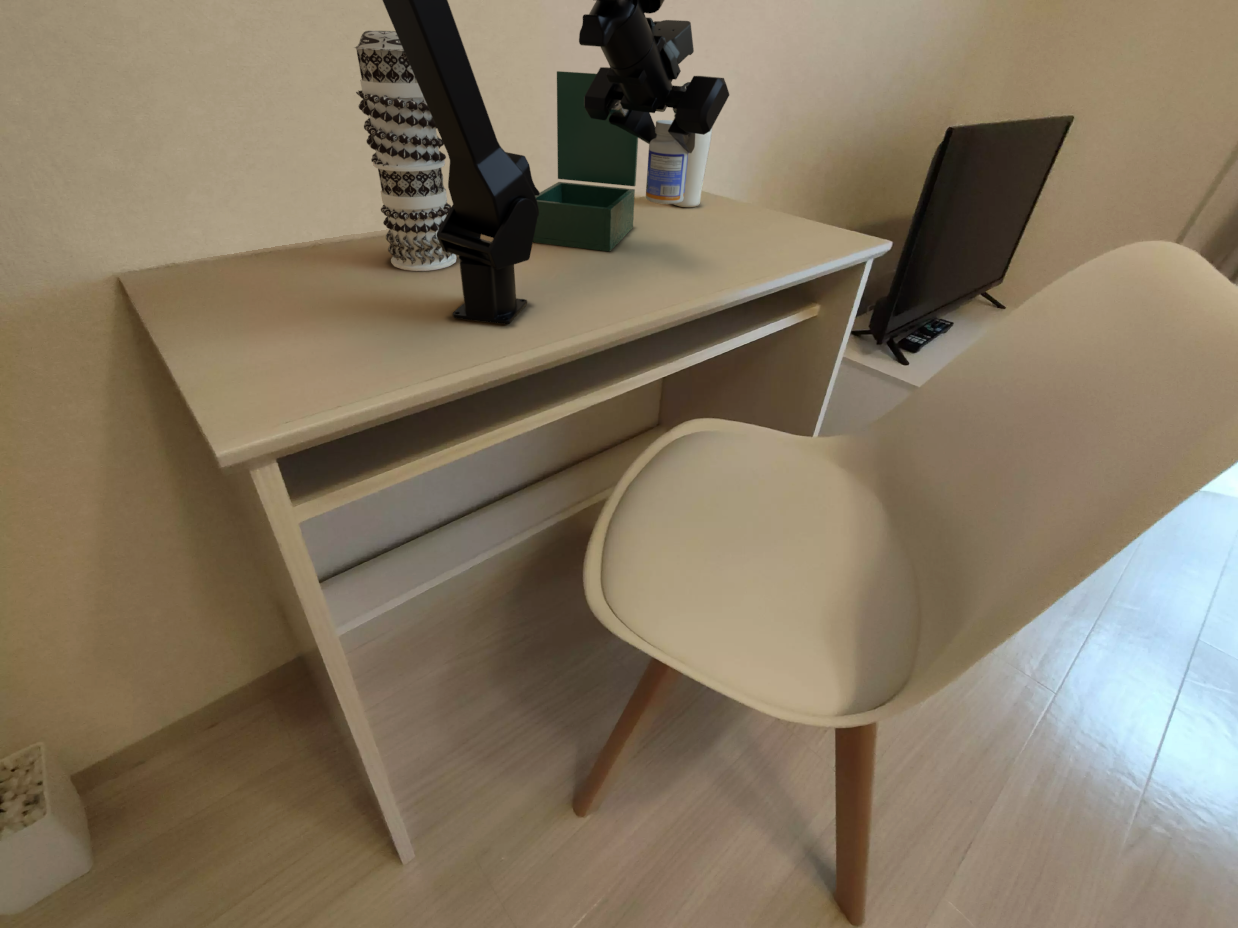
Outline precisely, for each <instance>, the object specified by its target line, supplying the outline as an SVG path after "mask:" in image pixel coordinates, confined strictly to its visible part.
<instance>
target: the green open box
mask: <svg viewBox="0 0 1238 928" xmlns="http://www.w3.org/2000/svg"><path fill="white" fill-rule="evenodd" d="M539 192H540V194H539V195H538V196H535V197H536V199H537V203H538V208H539V216H538V217H537V223H536V228H535V233H534V238H533V243H535V244H543V245H550V246H551V245H553V246H561V247H568V248H569V247H570V248H578V249H585V250H594V251H602V252H611V251H612V250H613V249H614V248H615V247H616V246H617V245H618V244H619V243H620V242H621V241H622V240H623V239H624V238H625V237H626V236H627V234H628V233H630V231H632V230H633V228H634V216H635V215H634V213H635V197H636V196H635V195H636V194H635V193H636V189H635V188H627V187H615V186H605V185H594V184H585V183H575V182H565V181H558V182H556V183H554V184H552V185H551V186H549V187H546V188H545V189H544V190H541V191H539Z"/></svg>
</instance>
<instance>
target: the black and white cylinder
mask: <svg viewBox="0 0 1238 928" xmlns="http://www.w3.org/2000/svg"><path fill="white" fill-rule="evenodd" d="M353 49H356V55H357V62H358V67H359V73H360V77H361V78H360V86H361V87H360V88H361V90H357V91H355V93H356V95H358V97H360V98H361V99H362V100H360V101H359V104H358V106H357V107H358V110H360V111H361V112H362V114H364V115H365V116H367V117H368V118H367V119H366V120H365V121H364V124H363V129H364V131H366V132H367V134H369V135H368V136H367V139H366V144H367V145H368V146H369V148H370V149H372V150H374V151H375V152H374V153H373V154H372V155H371V157H372V158H371V163H372V165H373V166H374V168H376V169H377V171H378V178H379V182H380V187H381V189H380V197H381V201H382V204H383V205H382V206H381V207H380V212H381V213H382V214H383V215H384V216H385V218H384V220H383V222H382V224H383V225H384V226H385V227H386V228H387V229H388V231H387V233H386V234H385V240H386V241H387V243H389V246H388V247H387V251H388V253H389V254H390V255H391V256H392V257H391V259H390V262H391V264H392V266H393V267H394V268H397V269H399V270H400V269H401V270H405V271H412V272H428V271H435V270H442V269H444V268H448V267H451V266H452V265H453V264H456V263H457V258H458V257H457V255H455V254H452V253H447V252H444V251H443V249H442V247H441V245H440V243H439V240H438V238H437V232H438V230H439V228H440V227H441V225H442V223H443V221H444V219H445V218H446V216H447V214H448V212H449V211H450V209H451V207H452V205H451V204H450V203H448V194H447V189H446V188H445V186H444V175H443V172H442V168H444V167H445V165H446V161H445V160H446V159H447V156H446V154H445V153H444V152H442V151H441V150H440V149H441V147H443V146H444V143H443V141H442V139H441V137H440V136H439V135H438V134H437V133H438V132H437V130H438V129H437V127H436V125H435V122H434V120H433V118H432V115H431V113H430V111H429V108H428V106H427V104H426V101H425V99H424V97H423V94H422V92H421V90H420V87H419V85H418V83H417V80H416V78H415V76H414V73H413V71H412V68H411V66H410V64H409V61H408V59H407V57H406V54H405V52H404V50H403V47H402V45H401V43H400V40H399V38H398V36H397V33H396V31H395V30H365V31H364V32H363V33H362V34H361V36H360V38H359V43H358V44H357V46H354V47H353Z"/></svg>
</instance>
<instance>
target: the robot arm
mask: <svg viewBox="0 0 1238 928" xmlns="http://www.w3.org/2000/svg"><path fill="white" fill-rule="evenodd" d="M381 1H382V3H383V5H384V8H385V10H386V11H387V12H386V13H387V14H388V17H389V18H390V21H391V24H392V26H393V28H394V31H396V33H397V36H398V38H399V40H400V43H401V45H402V47H403V50H404V52H405V54H406V57H407V59H408V61H409V64H410V66H411V68H412V71H413V73H414V76H415V78H416V80H417V83H418V85H419V87H420V90H421V92H422V94H423V97H424V99H425V101H426V104H427V106H428V108H429V111H430V113H431V115H432V118H433V120H434V122H435V125H436V127H437V129H436V130H437V131H438V132H437V133H438V134H439V137H440V139H442V141H443V143H444V145H443V146H444V149H445V150H446V153H447V155H448V159H449V167H448V179H447V181H448V182H447V188H448V191H449V194H450V198H451V202H452V205H451V209H450V211H449V212H448V214H447V216H446V218H445V219H444V221H443V223H442V225H441V227H440V228H439V230H438V232H437V238H438V240H439V243H440V245H441V247H442V249H443V251H444V252H447V253H452V254H455V255H456V256H458V263H459V272H460V280H461V287H462V296H463V297H462V298H463V303H462V304H461V305H460V306H458V308H457V309H455V310H453V312H452V318H453V319H457V320H464V321H474V322H482V323H490V324H496V325H497V324H498V325H510V324H511V323H512V322H513V321H514V320H515V319H516V318H517V316H518V315H520V313H521V312H522V311H523V310H524V309H525V308H526V306H528V300H527V299H525V298H517V289H516V275H515V272H516V271H515V265H517V264H521V263H524V262H527V261H529V260H530V258H531V253H532V248H533V243H534V242H533V238H534V233H535V228H536V223H537V217H538V216H539V208H538V203H537V199H536V197H535V196H538V195H539V194H540V192H541V191H540V190H539V189H538V188H537V187H536V185H535V183H534V180H533V176H532V171H531V166H530V163H529V161H528V159H527V157H526V156H525V155H523V154H518V153H512V152H508V151H505V150H504V149H503V147H502V146H501V145H500V143H499V141H498V139H497V136H496V132H495V130H494V126H493V124H492V122H491V119H490V116H489V113H488V110H487V108H486V103H485V102H484V98H483V96H482V93H481V90H480V87H479V84H478V82H477V79H476V77H475V73H474V71H473V68H472V65H471V62H470V59H469V57H468V53H467V51H466V48H465V46H464V45H465V44H464V43H463V40H462V37H461V35H460V31H459V29H458V26H457V23H456V20H455V17H454V14H453V12H452V9H451V6H450V3H449V0H381ZM664 2H665V0H595V2H594V4H593V6H592V8H591V9H590V11H589V13H587V14H586V13H585V14H583V15H582V24H581V28H580V30H579V33H578V43H579V45H580V46H583V47H584V46H585V47H586V46H587V47H597V48H598V47H599V48H600V49H601V51H602V53H603V55H604V57H605V60H606V61H607V63H608V65H609V67H607V66H601V67H599V69H598V70H597V73H595V74H596V76H595V78H594V80H593V82H592V84H591V85H590V87H589V89H588V91H587V93H586V94H585V96H584V107H585V109H586V111H587V113H588V114H589V116H590V118H593V119H599V120H606V119H607V117H608V115H609V113H610V114H611V116H610V118H609V122H610V124H612V125H616V126H618V127H620V128H621V129H623V130H625V131H627V132H629V133H631V134H632V135H634V136H637V137H638V140H641V141H643V142H645V143H646V144H648V145H649V143H650V142H651V140H653V139H655V138H656V137H657V134H656V133H655V132H656V131H655V127H656V124H655V123H654V122H655V121H654V120H653V117H652V116H651V114H655V113H656V112H660V113H664V112H665V111H667V110H666V109H667V108H671V109H672V111H673V114H674V113H676V114H675V115H673V122H672V124H671V126H670V128H669V129H668V132H669V133H670V134H671V136H672V137H673V138H674V139H675V140H676V141H677V142H678V143H679V144H680V145H681V146H682V147H683V148H684V149H685V150H686V151H687V152H688V153H692V151H693V149H694V147H695V133H696V134H702V135H704V134H706V133H708V132H710V130H711V129H712V130H713V127H714V125H715V123H716V122H717V119H718V117H719V116H720V113H721V112H722V110H723V108H724V106H725V105H726V103H727V100H728V99H729V97H730V91H729V89H728V85H727V83H726V80H725V78H724V77H719V76H706V75H693V76H692V78H691V80H690V81H686V82H685V83H683V84H682V85H673V84H672V83H673V80H675V81H676V80H677V79H678V78H679V75H680V74H681V68H680V64H681V63H682V62H683V61H684V60H685V59H686V58H687V57H688V56H692V55H693V54H694V52H695V50H694V41H693V33H692V24H691V21H690V20H676V19H664V20H660V21H659V20H657V21H656V20H653V18H652V17H647V16H646V15H645V14H649V15H650V14H654V13H655V14H656V13H657V12H658V11H659V10H660V9H661V7H662V6H663V4H664ZM674 117H675V118H674ZM482 236H485V237H489V238H491V239H492V240H490V241H489V240H486V239H482V238H481V237H482Z"/></svg>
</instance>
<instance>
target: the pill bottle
mask: <svg viewBox="0 0 1238 928" xmlns="http://www.w3.org/2000/svg"><path fill="white" fill-rule="evenodd" d="M673 120H674V119H673ZM673 120H671V119H660V120H659V119H658V120H656V121H655V131H656V132H655V133H656V134H657V137H656V138H655V139H653V140H651V142H650V143H649V144H648V155H647V172H646V185H645V199H646V200H647V201H649V202H651V203H655V204H660V205H674V204H676V203H680V202H682V201H683V199H684V192H685V181H686V171H687V162H688V152H687V151H686V150H685V149H684V148H683V147H682V146H681V145H680V144H679V143H678V142H677V141H676V140H675V139H674V138H673V137H672V136H671V134H670V133H669V132H668V129H669V128H670V126H671V124H672V122H673Z"/></svg>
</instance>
